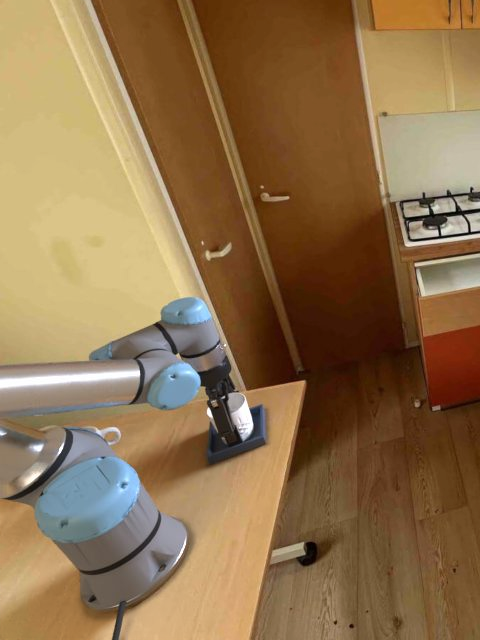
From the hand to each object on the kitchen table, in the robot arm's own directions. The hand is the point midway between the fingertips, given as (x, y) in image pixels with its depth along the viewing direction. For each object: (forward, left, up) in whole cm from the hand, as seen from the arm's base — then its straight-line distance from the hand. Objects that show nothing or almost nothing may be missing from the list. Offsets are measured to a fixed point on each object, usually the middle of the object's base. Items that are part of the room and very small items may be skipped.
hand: (237, 432), depth 103 cm
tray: (0, 0, -1) cm, 1 cm away
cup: (+8, +29, -1) cm, 30 cm away
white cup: (0, 0, -1) cm, 1 cm away
